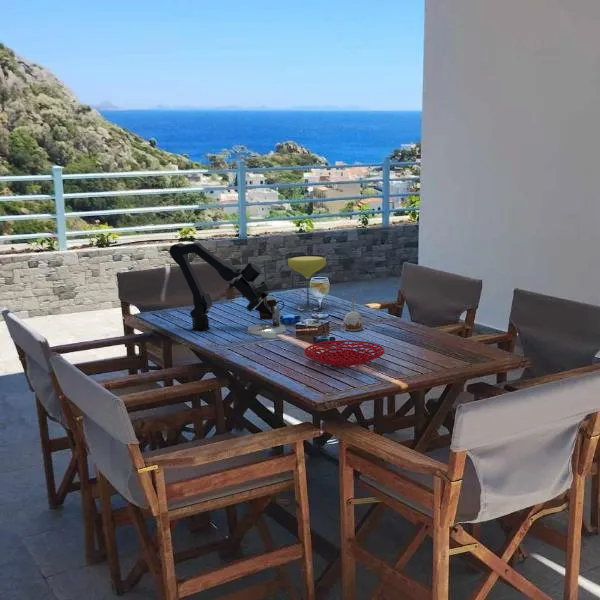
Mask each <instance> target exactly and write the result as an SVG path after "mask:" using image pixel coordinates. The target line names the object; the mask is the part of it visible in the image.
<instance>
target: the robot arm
mask: <svg viewBox="0 0 600 600" xmlns="http://www.w3.org/2000/svg"><path fill="white" fill-rule="evenodd" d="M168 253H169V255H170V257H171V258H172V260H173V262H175V263H176V264H177V265H178V266H179V269H180V271H181V273H182V274H183V277H184V279H185V281H186V284H187V286H188V288H189V290H190V292H191V295H192V300H193V301H192V302H193V306H194V307H193V309H191V310H190V312H189V314H190V317H191V322H192V327H191V328H190V330H191V329H193V330H192V331H197V330H198V332H199V331H200V332H203V331H206V330H209V329H211V326H210V325H209V324H210V323H209V317H208V316H209V315H208V313H209V311H210V310H211V309H212V307H213V299H212V298H211V296H210V292H207V293H206V292H205V291H203V289H202V287H201V285H200V283H199V279H198V278H197V276H196V273H195V272H194V270H193V267H192V264H191V262H190V256H189V255H190V254H195V255H197V256H198V257H199V258H201V260H203V261H204V262H206V263H207V264H208V265H209V266H211V267H213V268H214V270H216V272H217V273H218V275H219V276H220V277H221V278H222V279H223V280H224V281H225V282H229V284H228V285H229V290H232V289H234V288H235V290H237V291H238V292H239V293H240V295H242V296H241V297H242V298H243V299H245V300H247V301H248V302H249V303H248V304H247V305H246V309H247V311H248V312H250V313H251V312H252V311H253V310H254V311H256V312H258V313H259V312H262V313H265V314H267V315H270V316H271V315H272V311H271V310H270V308H269V306H268V304H267V298H266V297H269V295H270V293H269V291H270V290H271V287H270V285H271V284H270V283H268V282H267V281H265V280H264V281H261V282H260V285H259V286H255V285H252V284H251V283H253V282H255V280H256V279H257V278H258V277H259V276H260V275H261V274H263V273H262V272H263V271H262V270H261V268H260V267H259V266H258V265H256V264H254V263H253V262H252V261H249V262H248V263H247V264H246V266H245V267H244V268H243V269H242V268H237V267H236V266H234V265H233V264H231V263H229V262H226V261H224V260H222V259H220V258H219V257H218V256H216V255H214V253H212V252H211V251H210V250H208V249H207V248H206V247H204V246H203V245H202V243H200V242H195V243H187V244H185V243H182V242H178V243H176V244H172V245H171V246H170V247H169V250H168ZM239 277H240V278H239Z"/></svg>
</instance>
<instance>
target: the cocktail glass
mask: <svg viewBox="0 0 600 600" xmlns="http://www.w3.org/2000/svg"><path fill="white" fill-rule="evenodd" d="M326 259H327V258H326V256H324V255H322V254H321V255H319V254H300V255H293V256H289V257H288V258H287V265H288V267H289V268H290V269H291V270H293V271H294V272H297V273H300V274H301V275H302V276H303V277H304V278H305V279H306V305H302V306H299V308H300V309H304V310H310V309H314V308H316V305H311V304H310V295H309V294H310V293H309V279H310V278H311V276H312V275H313V274H315V273H316V272H318V271H320V270H321V269H323V268H324V267H325V266H326V265H327V264H326V263H327V260H326Z"/></svg>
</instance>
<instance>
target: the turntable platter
mask: <svg viewBox="0 0 600 600" xmlns="http://www.w3.org/2000/svg"><path fill="white" fill-rule="evenodd" d="M279 310H280V306H279V305H276V306H273V307H272V314H273V319H272V323H270V322H268V323H267V322H266V323H257V324H253V325H250V326H248V327H247V333H248V334H250V335H253V336H261V337H262V334H261V332H262V331H267V330H270V331H271V332H276V336H277V335H281V334H283V333H285V332H286V330H287V329H286V325H284V324H281V321H280V320H281V319H280V316H281V315H280V311H279Z"/></svg>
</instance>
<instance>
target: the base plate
mask: <svg viewBox="0 0 600 600" xmlns="http://www.w3.org/2000/svg"><path fill="white" fill-rule="evenodd" d="M261 334H262V336H261V338H265V339H277V335H276V332H271V331H270V330H267V331H262V332H261ZM249 335H251V334H249V333H248V334H244V335H243V336H249Z"/></svg>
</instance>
